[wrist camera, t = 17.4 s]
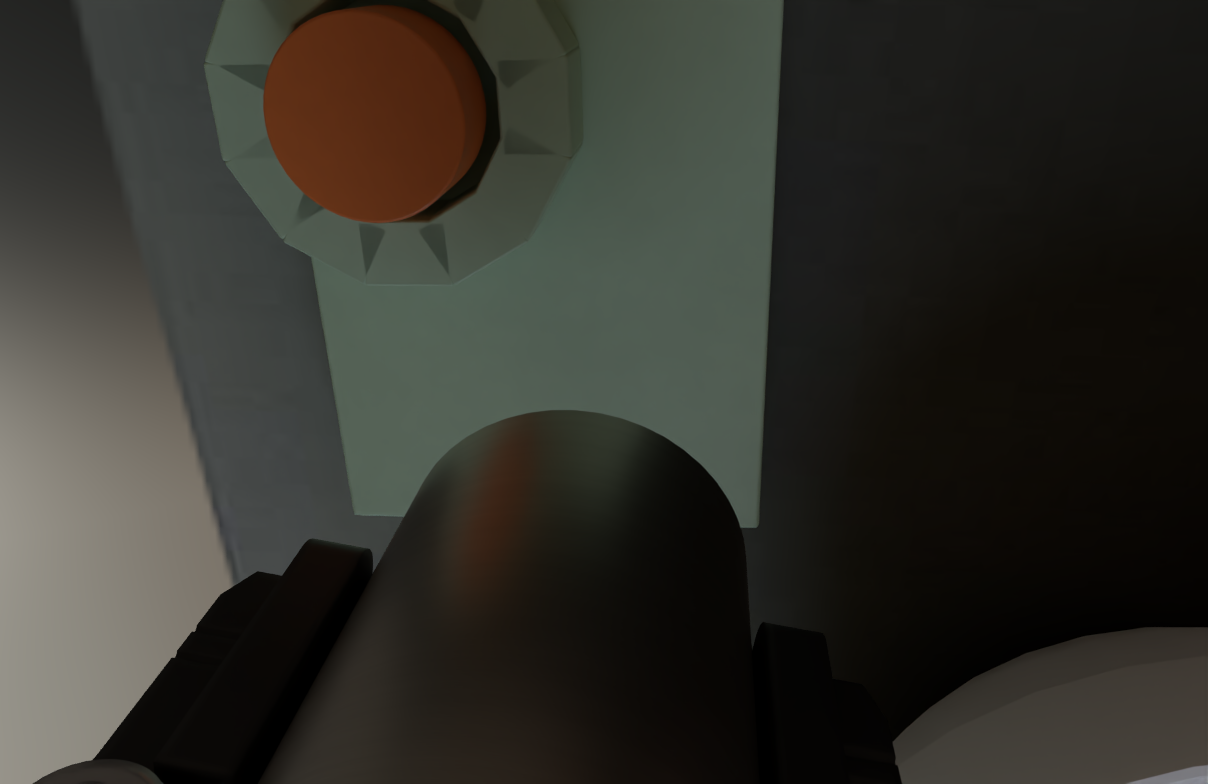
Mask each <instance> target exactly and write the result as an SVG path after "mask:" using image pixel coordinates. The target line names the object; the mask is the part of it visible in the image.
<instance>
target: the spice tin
mask: <svg viewBox="0 0 1208 784" xmlns="http://www.w3.org/2000/svg"><path fill="white" fill-rule="evenodd" d="M258 784H760V779H759V762H758V745H757V728H756V712H755V695H754V678H753V661H752V645H751V628H750V611H749V594H748V577H747V561H746V551H745V545H744V538H743V534H742V531H741V528H740V525H739V521H738V518H737V516H736V514H735V512H734V510H733V508H732V506H731V504H730V501H729V500H728V498H727V497H726V495H725V494H724V492H723V491H722V489H721V488H720V486H719V485H718V483H717V482H716V481H715V479H714V478H713V477H712V476H711V475H710V474H709V473H708V472H707V470H706V469H705V468H704V467H703V466H702V465H701V464H700V463H699V462H697V461H696V460H695V459H694V458H693V457H692V456H691V455H689V454H688V453H687V452H686V451H685V450H684V449H682V448H681V447H679V446H678V445H676V444H675V443H673V442H672V441H670V440H669V439H667V438H666V437H664V436H662V435H660V434H658V433H656V432H654V431H652V430H650V429H648V428H646V427H644V426H641V425H639V424H636V423H633V422H631V421H628V420H625V419H622V418H618V417H614V416H610V415H606V414H602V413H596V412H588V411H579V410H547V411H539V412H531V413H526V414H522V415H518V416H514V417H510V418H506V419H503V420H501V421H498V422H495V423H493V424H490V425H488V426H485V427H483V428H482V429H480V430H478V431H476V432H474V433H473V434H471V435H469V436H467V437H466V438H464V439H463V440H462V441H460V442H459V443H458V444H456V445H455V446H454V447H452V448H451V449H450V450H449V451H448V452H447V453H446V454H445V455H444V456H443V457H442V458H441V459H440V460H439V461H438V462H437V463H436V464H435V466H434V467H433V468H432V470H431V471H430V473H429V474H428V475H427V477H426V478H425V480H424V481H423V483H422V485H421V487H420V489H419V491H418V492H417V494H416V496H415V498H414V500H413V501H412V503H411V505H410V507H409V509H408V511H407V512H406V514H405V516H404V518H403V520H402V522H401V523H400V525H399V527H398V529H397V531H396V532H395V534H394V536H393V538H392V540H391V542H390V543H389V545H388V547H387V549H386V551H385V552H384V554H383V556H382V558H381V560H380V562H379V563H378V565H377V567H376V569H375V571H374V572H373V574H372V576H371V578H370V580H369V582H368V583H367V585H366V587H365V589H364V591H363V593H362V594H361V596H360V598H359V600H358V602H357V603H356V605H355V607H354V609H353V611H352V613H351V614H350V616H349V618H348V620H347V622H346V623H345V625H344V627H343V629H342V631H341V633H340V634H339V636H338V638H337V640H336V642H335V643H334V645H333V647H332V649H331V651H330V653H329V654H328V656H327V658H326V660H325V662H324V664H323V665H322V667H321V669H320V671H319V673H318V674H317V676H316V678H315V680H314V682H313V684H312V685H311V687H310V689H309V691H308V693H307V694H306V696H305V698H304V700H303V702H302V704H301V705H300V707H299V709H298V711H297V713H296V714H295V716H294V718H293V720H292V722H291V724H290V725H289V727H288V729H287V731H286V733H285V734H284V736H283V738H282V740H281V742H280V744H279V745H278V747H277V749H276V751H275V753H274V755H273V756H272V758H271V760H270V762H269V764H268V765H267V767H266V769H265V771H264V773H263V775H262V776H261V778H260V780H259V782H258Z"/></svg>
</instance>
